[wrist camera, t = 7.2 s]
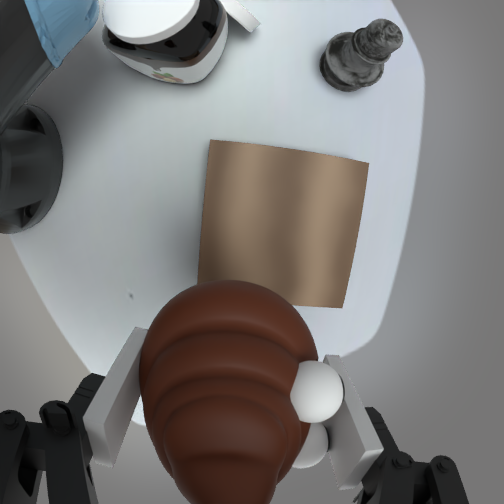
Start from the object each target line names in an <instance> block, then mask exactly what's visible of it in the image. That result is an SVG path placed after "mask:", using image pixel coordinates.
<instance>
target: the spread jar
mask: <svg viewBox="0 0 504 504" xmlns="http://www.w3.org/2000/svg"><path fill="white" fill-rule="evenodd" d="M226 12H227V13H228V14H229V15H230V16H231V17H233V18H234V19H235V20H236V21H237V22H238V23H240V24H241V25H242V26H243V27H244V28H245V29H246V30H248V31H249V32H250V33H251V32H252V31H253V30H254V29H256V28H257V27H258V26H259V25H260V22H259V21H258V20H257V19H256V18H255V17H254V16H253V15H252V14H251V13H250V12H249V11H248V10H247V9H246V8H245V7H244V6H242V5H241V4H240V3H239V2H238V1H237V0H105V2H104V5H103V11H102V15H103V20H104V22H105V25H104V28H103V33H102V39H103V42H104V45H105V46H106V47H107V48H108V49H109V50H110V51H111V52H112V53H113V54H114V55H115V56H117V57H118V58H119V59H120V60H121V61H123V62H124V63H125V64H127V65H128V66H130V67H132V68H133V69H135V70H137V71H139V72H141V73H143V74H145V75H147V76H150V77H152V78H155V79H158V80H161V81H165V82H171V83H195V82H198V81H200V80H202V79H204V78H205V77H206V76H207V75H208V74H209V73H210V72H211V70H212V69H213V68H214V66H215V65H216V63H217V62H218V60H219V58H220V56H221V54H222V52H223V50H224V47H225V44H226V40H227V35H228V20H227V14H226Z"/></svg>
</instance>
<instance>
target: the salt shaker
mask: <svg viewBox="0 0 504 504" xmlns="http://www.w3.org/2000/svg"><path fill="white" fill-rule="evenodd" d="M402 42H403V35H402V32H401V30H400V29H399V27H398V26H397V25H396V24H394V23H393V22H391V21H389V20H386V19H377V20H374V21H372V22H371V23H370V24H369V25H368V26H367V27H366V28H360V29H358V30H357V31H355V32H354V33H353V32H344V33H340V34H338V35H335V36H334V37H333V38H332V39H331V40H330V41H329V43H328V45H327V48H326V51H325V52H324V53H323V55H322V57H321V59H320V70H321V73H322V76H323V77H324V78H325V80H326V81H327V82H328V83H329V84H330V85H331V86H333V87H334V88H336V89H338V90H341V91H348V92H350V91H355V90H357V89H359V88H361V87H366V86H371V85H373V84H374V83H376V82H377V81H378V80H379V79H380V78H381V76H382V74H383V70H384V63H385V62H386V61H387V60H389V58H390V56H391V53H392V52H394V51H395V50H397V49H398V48H399V47H400V46H401V45H402Z"/></svg>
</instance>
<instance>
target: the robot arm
mask: <svg viewBox="0 0 504 504" xmlns="http://www.w3.org/2000/svg"><path fill="white" fill-rule="evenodd" d="M98 15H99V3H98V0H0V233H4V234H11V233H17V232H20V231H22V230H25V229H27V228H30V227H32V226H34V225H35V224H37V223H38V222H39V221H40V220H41V219H42V218H43V217H44V216H45V215H46V214H47V212H48V211H49V209H50V208H51V206H52V204H53V202H54V200H55V197H56V195H57V192H58V189H59V185H60V181H61V175H62V164H63V156H62V146H61V141H60V137H59V134H58V131H57V128H56V126H55V124H54V122H53V121H52V119H51V118H50V117H49V116H48V114H47V113H46V112H44V111H43V110H42V109H40V108H38V107H36V106H32V105H27V104H24V103H25V102H26V100H27V99H28V98H29V97H30V95H31V94H32V93H33V92H34V91H35V89H36V88H37V87H38V86H39V85H40V83H41V82H42V81H43V80H44V79H45V78H46V77H47V76H48V75H49V74H50V72H51V71H52V70H53V69H54V68H56V69H57V68H58V67H59V66H60V65H61V64H62V60H63V58H64V57H65V56H66V55H67V54H68V53H69V52H70V51H71V50H72V49H73V47H74V46H75V45H76V44H77V43H78V42H79V41H80V40H81V39H82V38H83V37H84V36H85V35H86V34H87V33H88V32H89V31H90V30H91V29H92V28H93V26H94V25H95V23H96V21H97V19H98ZM147 332H148V330H147V329H142V328H138V327H135V328H134V330H133V332H132V333H131V335H130V336H129V338H128V340H127V341H126V343H125V345H124V346H123V348H122V350H121V351H120V353H119V355H118V356H117V358H116V360H115V362H114V363H113V365H112V367H111V368H110V370H109V372H108V374H107V375H106V377H105V376H101V375H97V374H94V373H91V374H90V375H88V376H87V377H85V378H84V379H83V380H82V382H81V383H80V385H79V387H78V388H77V389H76V391H75V393H74V394H73V396H72V397H71V399H70V400H69V402H68V403H65V402H63V401H58V400H55V401H49V402H47V403H45V404H44V405H43V406H42V407H41V408H40V411H39V414H40V417H41V420H42V423H35V422H28V421H25V418H24V416H23V415H22V414H21V413H20V412H17V411H14V410H6V411H3V412H1V413H0V504H36V502H37V496H38V491H39V485H40V481H41V476H42V471H46V478H47V489H48V497H49V504H98V500H97V496H96V492H95V487H94V482H93V478H92V472H91V467H90V464H89V463H90V460H91V458H92V456H93V458H94V461H95V463H98V464H101V465H104V466H108V467H111V468H113V467H114V464H115V461H116V458H117V455H118V453H119V450H120V447H121V445H122V442H123V439H124V437H125V434H126V431H127V428H128V426H129V423H130V421H131V418H132V415H133V413H134V410H135V407H136V405H137V402H138V400H139V397H140V395H141V392H140V385H139V363H140V356H141V350H142V346H143V343H144V340H145V337H146V334H147ZM323 363H325V364H327V365H329V366H330V367H332V368H333V369H334V370H335V371H336V372H337V373H338V374H339V375H340V376H341V378H342V380H343V382H344V387H345V397H344V401H343V403H342V404H341V405H340V407H339V409H338V410H337V412H336V413H335V414H334V415H333V416H331V417H330V418H328V419H327V420H324V421H321V423H322V424H323V425H324V426H325V427H326V428H327V430H328V433H329V437H330V447H329V450H328V454H329V457H330V461H331V464H332V467H333V471H334V475H335V478H336V482H337V485H338V488H339V490H343V489H352V488H356V487H357V485H358V484H359V483H360V482H361V481H362V484H363V489H362V490H361V491H360V492H359V494H358V495H357V496H356V497H355V498H354V500H353V502H354V503H355V502H356V501H357V499H358V502H357V504H469V502H468V499H467V496H466V493H465V490H464V487H463V484H462V481H461V478H460V475H459V472H458V470H457V467H456V465H455V463H454V461H453V460H452V459H450V458H449V457H447V456H441V455H440V456H436V457H434V458H433V459H432V460H431V462H430V463H425V462H415V461H414V460H413V459H412V457H411V456H410V455H408V454H407V453H404V452H402V451H399V449H398V447H397V445H396V444H395V441H394V439H393V437H392V436H391V434H390V432H389V430H388V428H387V426H386V424H385V423H384V420H383V418H382V416H381V414H380V413H379V412H378V411H377V410H376V409H374V408H373V407H364V406H363V404H362V402H361V399H360V397H359V395H358V393H357V391H356V389H355V387H354V385H353V383H352V381H351V379H350V377H349V375H348V373H347V371H346V369H345V367H344V364H343V362H342V360H341V358H340V356H339V355H325V357H324V360H323Z"/></svg>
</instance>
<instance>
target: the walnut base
mask: <svg viewBox="0 0 504 504" xmlns="http://www.w3.org/2000/svg"><path fill="white" fill-rule="evenodd" d="M368 167H369V163H366V162H361V161H357V160H352V159H347V158H341V157H336V156H331V155H325V154H319V153H314V152H307V151H301V150H295V149H288V148H281V147H274V146H266V145H258V144H250V143H241V142H231V141H221V140H210V147H209V155H208V164H207V174H206V184H205V194H204V204H203V215H202V227H201V239H200V252H199V266H198V282H197V285H198V284H201V283H204V282H209V281H215V280H240V281H246V282H251V283H254V284H258V285H261V286H263V287H266V288H268V289H270V290H272V291H273V292H275V293H277V294H278V295H280V296H281V297H283V298H284V299H285V300H287V301H288V302H289V303H290V304H291V305H298V306H313V307H329V308H342V307H343V303H344V299H345V295H346V290H347V286H348V281H349V277H350V272H351V267H352V263H353V258H354V253H355V248H356V242H357V237H358V232H359V226H360V220H361V214H362V208H363V202H364V196H365V189H366V182H367V175H368Z"/></svg>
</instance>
